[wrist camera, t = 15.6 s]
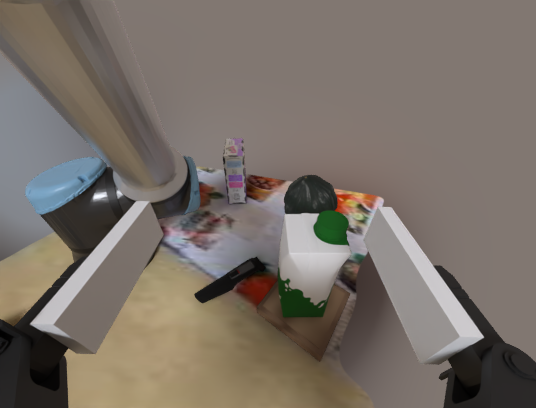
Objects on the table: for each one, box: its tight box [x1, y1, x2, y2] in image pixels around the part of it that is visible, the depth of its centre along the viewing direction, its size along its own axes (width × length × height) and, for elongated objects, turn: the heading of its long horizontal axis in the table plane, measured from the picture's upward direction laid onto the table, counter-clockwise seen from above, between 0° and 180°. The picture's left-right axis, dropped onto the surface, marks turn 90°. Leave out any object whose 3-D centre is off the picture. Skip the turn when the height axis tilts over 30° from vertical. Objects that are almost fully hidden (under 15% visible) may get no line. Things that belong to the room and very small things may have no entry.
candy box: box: [223, 138, 246, 204], centre depth 66 cm, size 14×6×16 cm, turn 5°
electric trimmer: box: [194, 257, 266, 303], centre depth 44 cm, size 4×16×3 cm, turn 126°
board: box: [257, 280, 350, 361], centre depth 40 cm, size 13×13×2 cm
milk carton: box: [278, 211, 352, 317], centre depth 33 cm, size 9×9×20 cm
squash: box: [284, 175, 337, 214], centre depth 58 cm, size 14×15×15 cm
